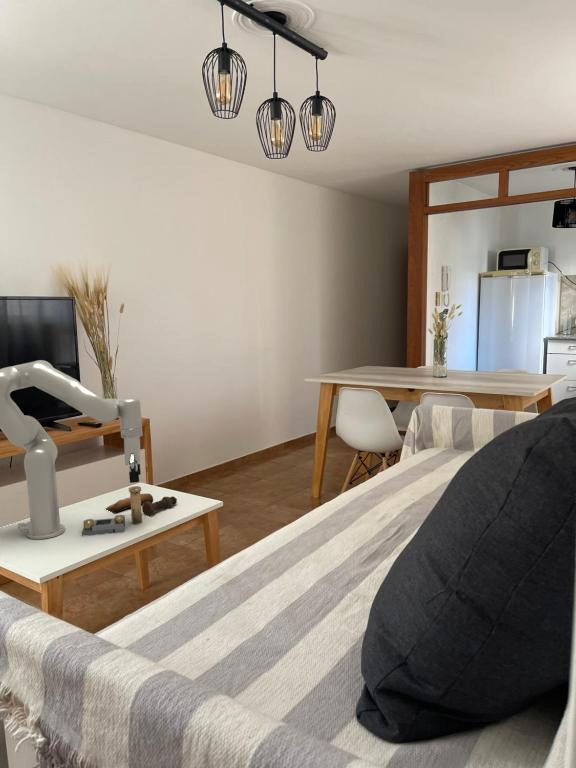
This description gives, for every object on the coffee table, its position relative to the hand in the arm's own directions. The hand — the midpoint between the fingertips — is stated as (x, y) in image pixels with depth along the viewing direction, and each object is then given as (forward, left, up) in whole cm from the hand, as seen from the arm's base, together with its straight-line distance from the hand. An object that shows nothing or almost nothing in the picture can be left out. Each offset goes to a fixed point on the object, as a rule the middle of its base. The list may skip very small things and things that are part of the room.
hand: (135, 478), depth 212 cm
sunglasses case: (-5, +20, -17) cm, 27 cm away
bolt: (+8, +12, -17) cm, 22 cm away
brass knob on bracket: (-11, -5, -17) cm, 21 cm away
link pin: (0, 0, -17) cm, 17 cm away
